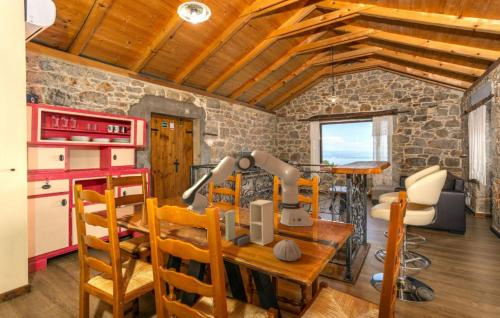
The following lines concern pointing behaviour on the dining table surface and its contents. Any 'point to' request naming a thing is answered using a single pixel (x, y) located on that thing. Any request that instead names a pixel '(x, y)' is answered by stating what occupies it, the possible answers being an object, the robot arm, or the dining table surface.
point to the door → (230, 224)
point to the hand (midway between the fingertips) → (216, 220)
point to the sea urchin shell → (287, 250)
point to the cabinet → (259, 224)
